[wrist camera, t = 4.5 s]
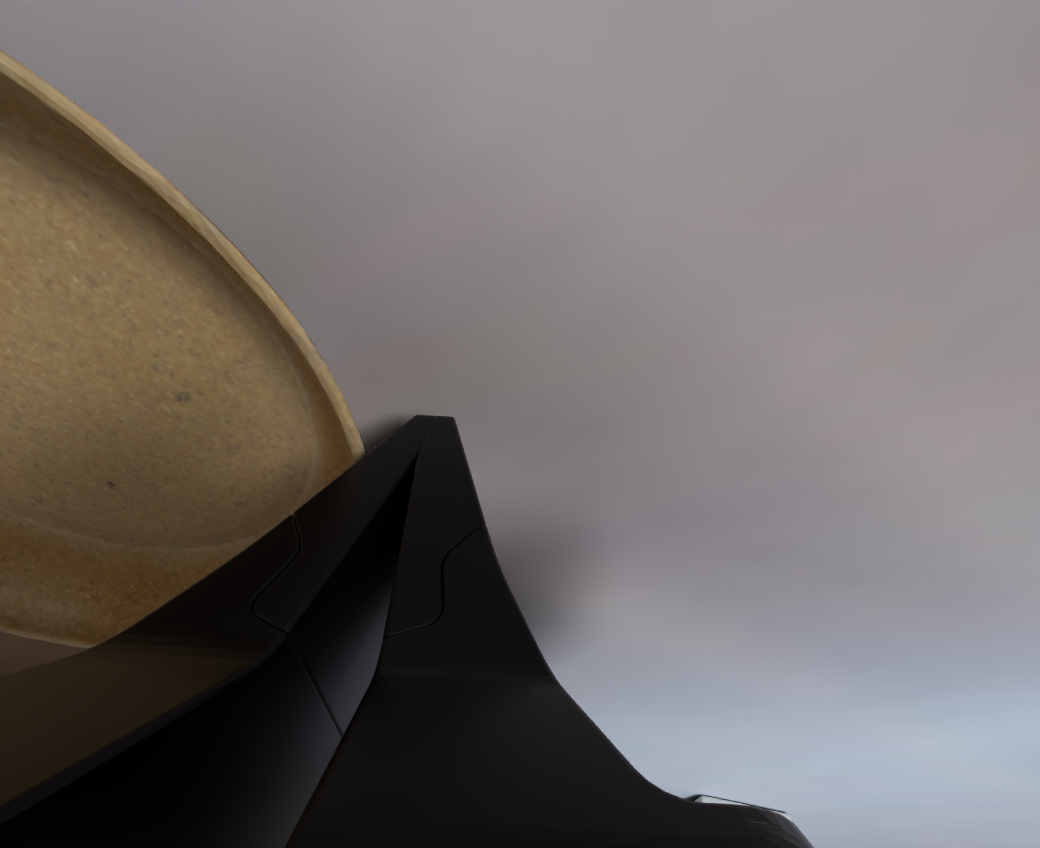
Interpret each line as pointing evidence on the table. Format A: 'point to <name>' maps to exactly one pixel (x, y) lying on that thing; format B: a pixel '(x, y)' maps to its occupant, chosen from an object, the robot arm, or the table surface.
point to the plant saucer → (135, 382)
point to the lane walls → (30, 652)
